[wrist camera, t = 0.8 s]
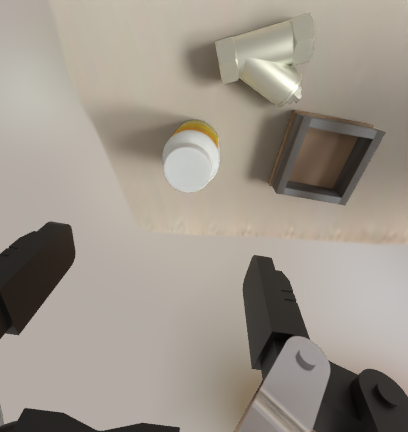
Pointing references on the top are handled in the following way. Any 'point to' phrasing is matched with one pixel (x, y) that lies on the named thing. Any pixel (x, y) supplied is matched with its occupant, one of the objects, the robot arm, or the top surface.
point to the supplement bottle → (191, 156)
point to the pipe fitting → (269, 58)
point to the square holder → (323, 157)
